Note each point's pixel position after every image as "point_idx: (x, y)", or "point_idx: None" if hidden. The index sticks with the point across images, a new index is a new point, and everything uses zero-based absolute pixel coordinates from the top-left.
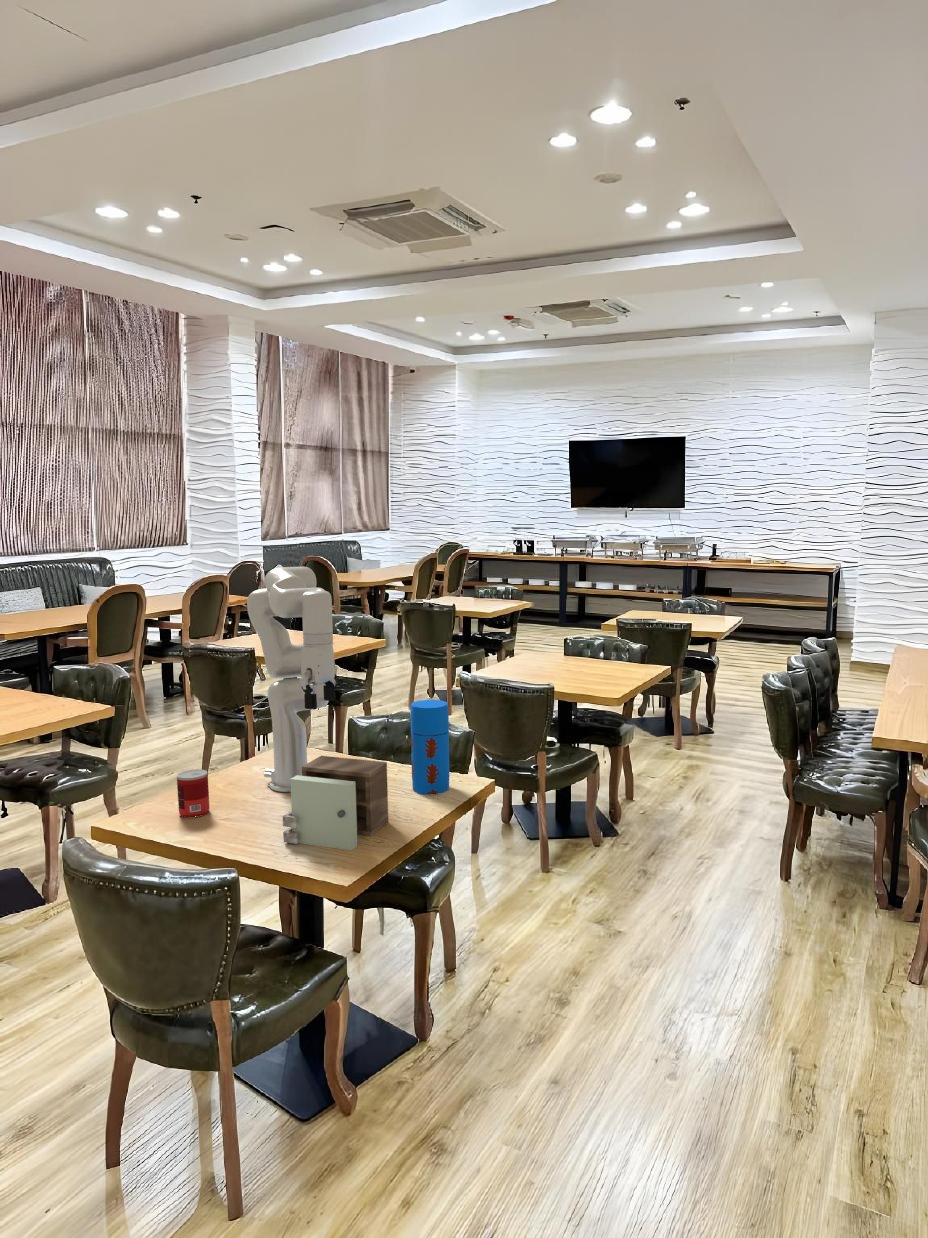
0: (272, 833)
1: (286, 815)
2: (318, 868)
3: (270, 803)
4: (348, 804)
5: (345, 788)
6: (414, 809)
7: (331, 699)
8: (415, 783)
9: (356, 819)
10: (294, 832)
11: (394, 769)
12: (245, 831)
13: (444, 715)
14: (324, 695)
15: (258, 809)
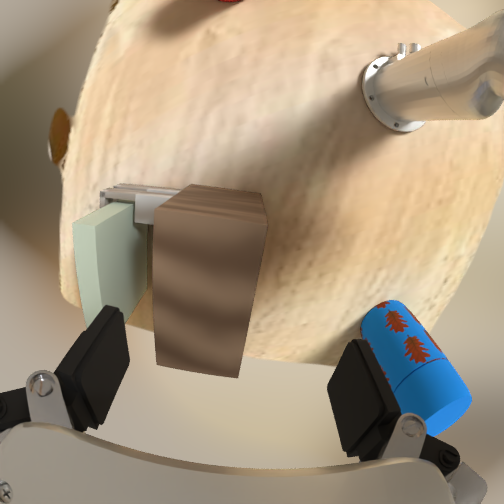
0: (157, 142)
1: (104, 196)
2: None
3: (302, 77)
4: None
5: None
6: (299, 326)
7: (332, 382)
8: (376, 317)
9: (133, 309)
10: None
11: (462, 249)
12: (158, 95)
13: None
14: (356, 365)
15: (267, 67)
